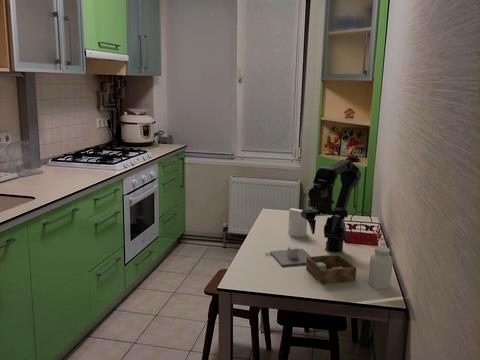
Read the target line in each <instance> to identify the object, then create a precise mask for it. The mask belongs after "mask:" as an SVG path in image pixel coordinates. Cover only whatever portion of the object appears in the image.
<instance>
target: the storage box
mask: <svg viewBox="0 0 480 360" xmlns="http://www.w3.org/2000/svg"><path fill="white" fill-rule="evenodd" d="M317 262H323V263H324V264H325V265H326V270H323V269H321V268H320V267H319V266H318V265H317V264H316V263H317ZM332 267H342V268H340V269H332ZM305 269H306V271H307V272H308V273H309V274H310V275H311V276H312V277H313V278H314V279H315V280H316V281H318V283H319V284H320V285H327V284H328V285H329V284H338V283H347V282H348V283H349V282H356V278H357V277H356V275H357V267H356V266H355V265H353V264H352V263H351V262H350V261H348V260H347V259H346V258H345V257H343V256H342V255H341V254H339V253H335V254H328V255H327V254H326V255H316V256H313V255H312V256H311V257H307V263H306V265H305Z"/></svg>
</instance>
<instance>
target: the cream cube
mask: <svg viewBox="0 0 480 360" xmlns="http://www.w3.org/2000/svg"><path fill="white" fill-rule="evenodd" d="M316 264H317V265H318V266H319V267H320V268H321V269H323V270H326V265H325V264H324V263H323V262H317V263H316Z"/></svg>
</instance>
